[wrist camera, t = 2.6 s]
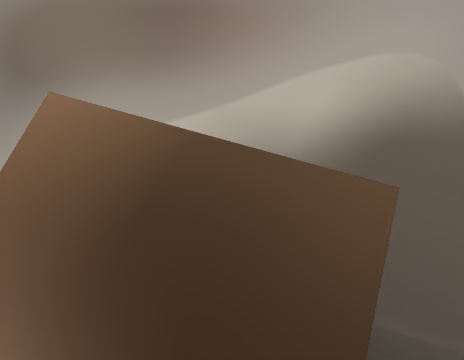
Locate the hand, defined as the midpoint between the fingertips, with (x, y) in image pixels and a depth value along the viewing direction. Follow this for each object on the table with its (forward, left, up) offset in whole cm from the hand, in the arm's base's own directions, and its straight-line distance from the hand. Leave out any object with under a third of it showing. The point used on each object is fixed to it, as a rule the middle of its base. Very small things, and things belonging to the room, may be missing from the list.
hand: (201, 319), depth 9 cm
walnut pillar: (0, 0, -8) cm, 8 cm away
